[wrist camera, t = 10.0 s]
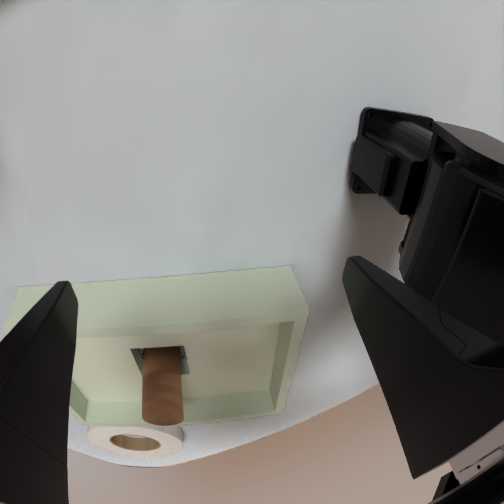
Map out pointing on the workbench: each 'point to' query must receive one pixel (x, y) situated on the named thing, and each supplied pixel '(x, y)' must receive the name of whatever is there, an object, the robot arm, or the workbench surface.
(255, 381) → the box
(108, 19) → the workbench surface
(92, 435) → the roll of tape
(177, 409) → the peg
